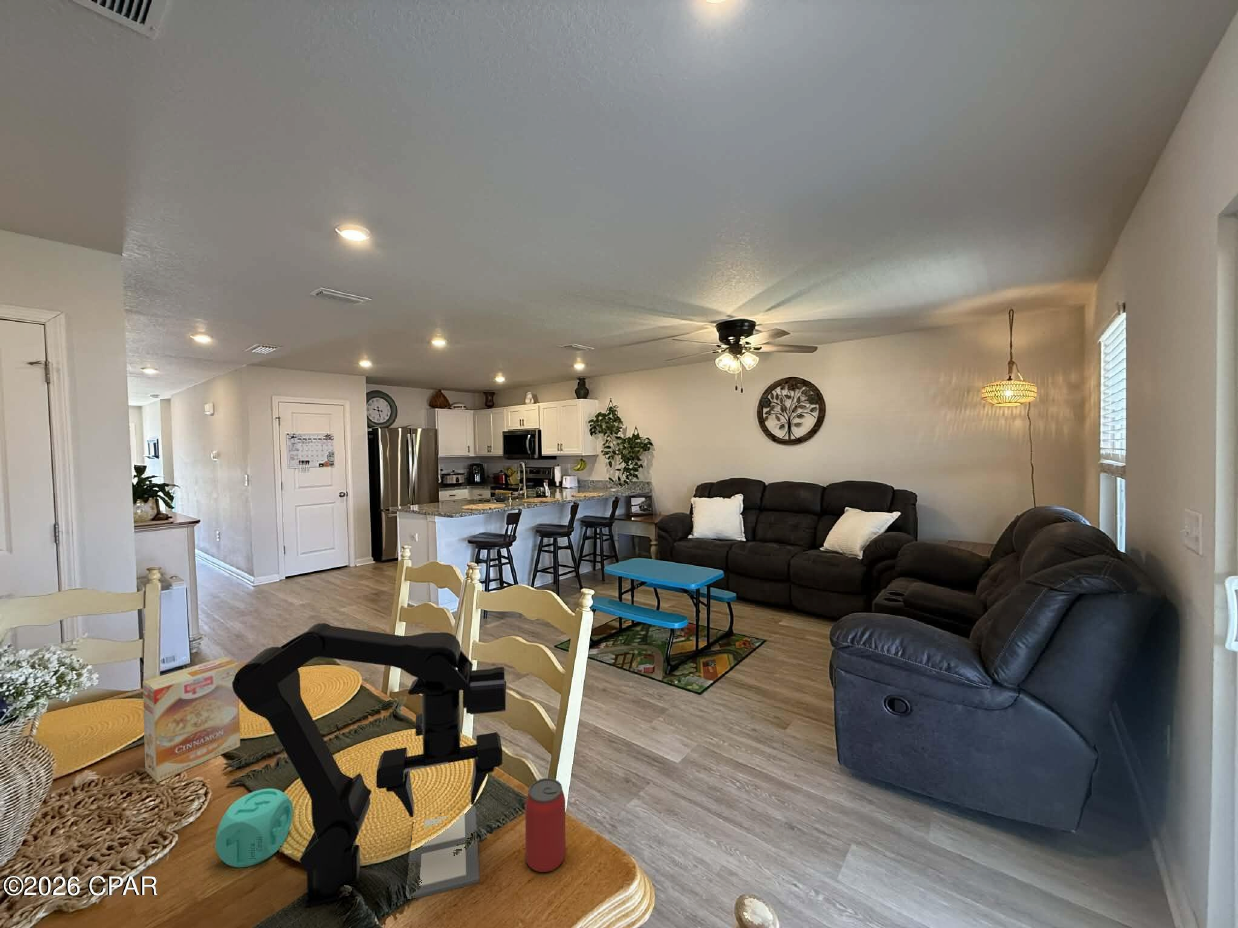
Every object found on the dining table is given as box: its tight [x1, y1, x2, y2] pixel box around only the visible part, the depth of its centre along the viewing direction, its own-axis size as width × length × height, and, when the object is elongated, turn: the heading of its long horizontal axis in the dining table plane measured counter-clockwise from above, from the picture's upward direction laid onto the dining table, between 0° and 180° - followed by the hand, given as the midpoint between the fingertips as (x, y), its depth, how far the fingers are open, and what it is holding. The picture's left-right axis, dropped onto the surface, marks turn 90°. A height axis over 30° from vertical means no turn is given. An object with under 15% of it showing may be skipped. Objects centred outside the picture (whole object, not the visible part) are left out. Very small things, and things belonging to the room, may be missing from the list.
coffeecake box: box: [142, 656, 241, 783], centre depth 111 cm, size 15×7×20 cm, turn 148°
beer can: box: [524, 777, 566, 873], centre depth 85 cm, size 7×7×12 cm
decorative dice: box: [214, 788, 294, 868], centre depth 87 cm, size 8×8×8 cm
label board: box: [407, 805, 480, 899], centre depth 87 cm, size 11×17×1 cm, turn 18°
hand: (442, 808), depth 83 cm, fingers open, 9 cm apart
